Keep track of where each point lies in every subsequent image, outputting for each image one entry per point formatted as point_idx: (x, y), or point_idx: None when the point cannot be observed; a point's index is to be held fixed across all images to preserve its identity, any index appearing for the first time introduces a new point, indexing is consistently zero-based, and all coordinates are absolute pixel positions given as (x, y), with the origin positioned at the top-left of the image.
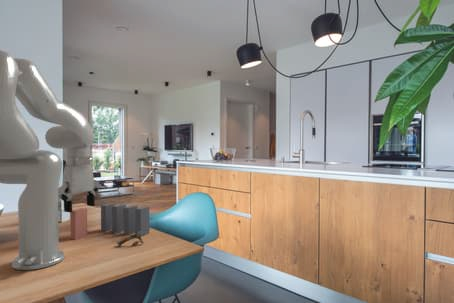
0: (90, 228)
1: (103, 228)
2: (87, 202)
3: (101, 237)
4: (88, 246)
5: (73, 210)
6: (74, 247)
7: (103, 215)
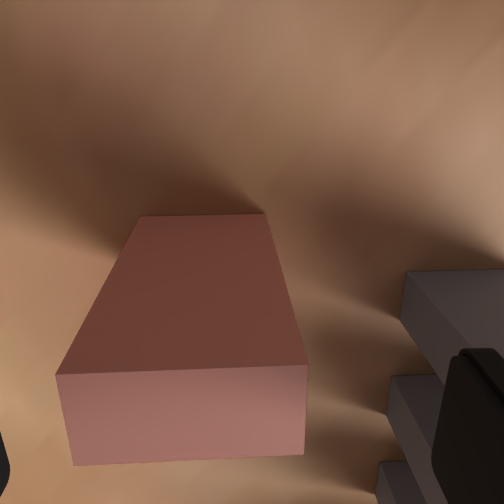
0: (465, 102)
1: (413, 310)
2: (479, 400)
3: None
4: None
5: (101, 393)
6: (31, 399)
7: None
